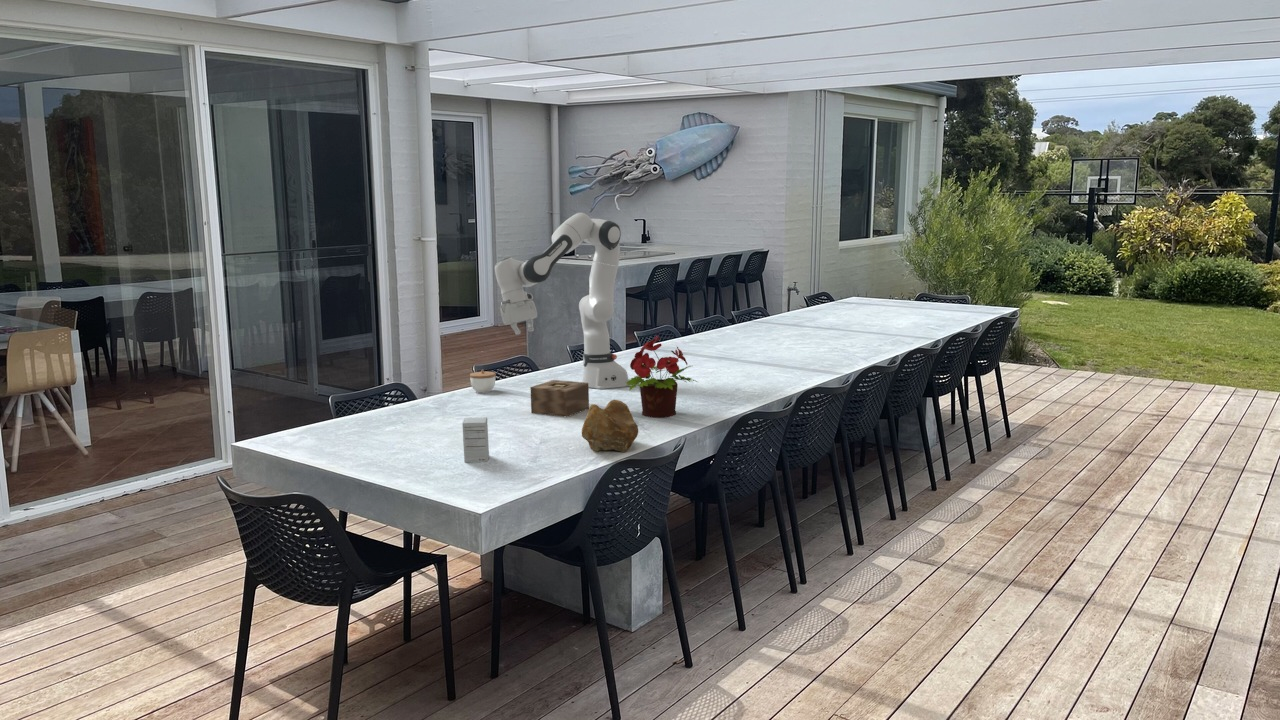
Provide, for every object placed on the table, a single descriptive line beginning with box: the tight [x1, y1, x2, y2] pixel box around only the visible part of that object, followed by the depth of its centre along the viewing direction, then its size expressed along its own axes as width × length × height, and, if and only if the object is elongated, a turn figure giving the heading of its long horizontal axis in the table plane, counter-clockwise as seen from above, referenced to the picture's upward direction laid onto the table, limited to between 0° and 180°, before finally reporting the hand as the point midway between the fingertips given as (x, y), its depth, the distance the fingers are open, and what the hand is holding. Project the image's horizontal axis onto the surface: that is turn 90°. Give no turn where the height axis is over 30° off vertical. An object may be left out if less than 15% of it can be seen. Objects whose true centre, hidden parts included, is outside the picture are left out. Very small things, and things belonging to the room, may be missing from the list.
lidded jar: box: [469, 369, 497, 394], centre depth 404 cm, size 11×11×9 cm
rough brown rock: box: [581, 399, 639, 453], centre depth 308 cm, size 23×17×15 cm
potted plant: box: [626, 335, 700, 419], centre depth 352 cm, size 30×27×30 cm
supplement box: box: [462, 416, 490, 463], centre depth 298 cm, size 7×7×13 cm
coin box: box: [530, 379, 590, 418], centre depth 364 cm, size 16×16×10 cm
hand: (524, 332), depth 375 cm, fingers open, 8 cm apart
